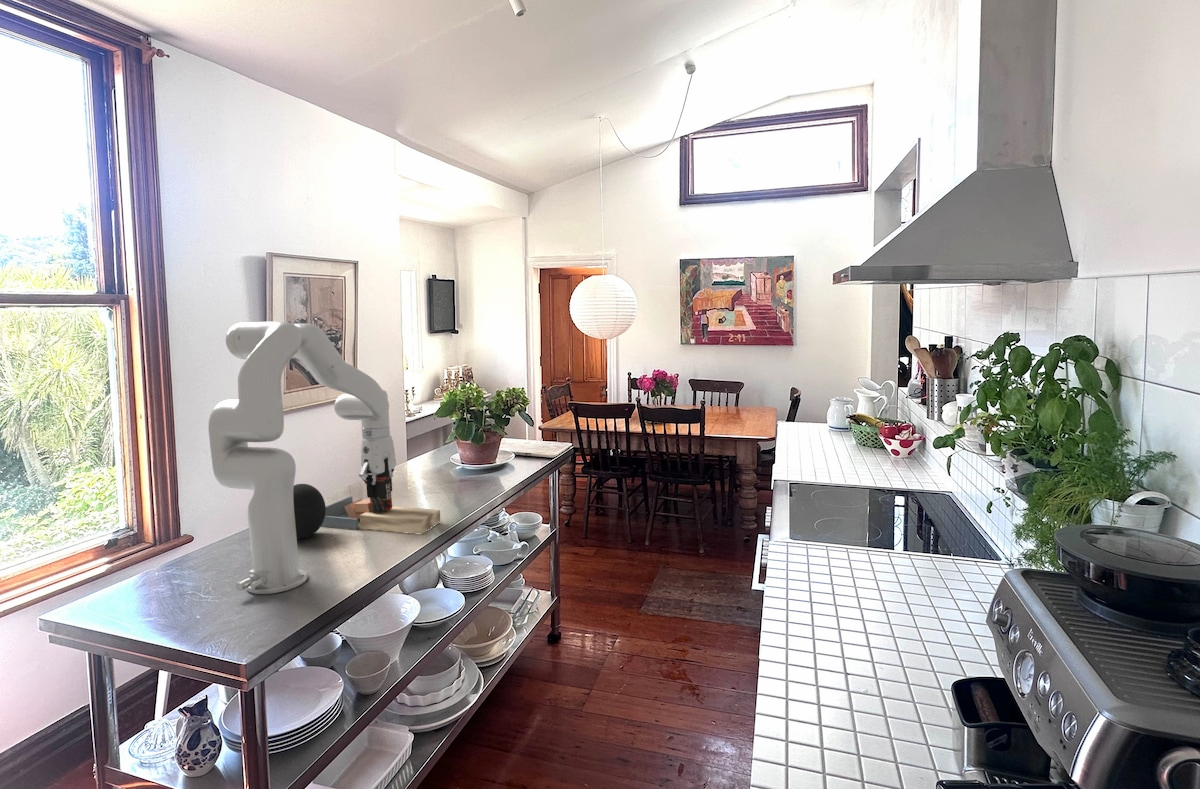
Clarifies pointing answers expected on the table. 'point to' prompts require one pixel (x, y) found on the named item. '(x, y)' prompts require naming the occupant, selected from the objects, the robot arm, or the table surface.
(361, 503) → the tile
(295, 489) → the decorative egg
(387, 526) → the board
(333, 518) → the tray
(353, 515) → the tile
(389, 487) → the deodorant
